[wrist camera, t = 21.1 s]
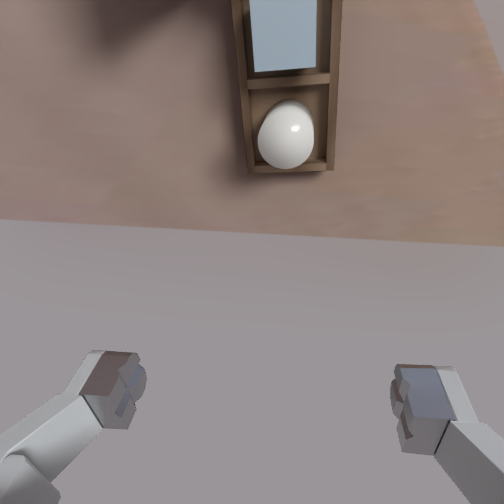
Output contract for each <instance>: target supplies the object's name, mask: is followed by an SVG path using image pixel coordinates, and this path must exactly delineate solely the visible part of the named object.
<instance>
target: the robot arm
mask: <svg viewBox="0 0 504 504" xmlns="http://www.w3.org/2000/svg"><path fill="white" fill-rule="evenodd" d="M139 361H140V358H139V356H138V354H137V353H130V352H114V351H100V350H92V351H91V352H90V353H88V354H87V356H86V358H85V359H84V361H83V362H82V364H81V365H80V367H79V368H78V370H77V372H76V373H75V375H74V376H73V378H72V379H71V381H70V382H69V384H68V385H67V387H66V389H65V390H64V392H63V393H62V394H57V395H56V396H54V397H53V398H52V399H50V400H49V401H47V402H46V403H45V404H43V405H42V406H40V407H39V408H38V409H36V410H35V411H33V412H32V413H30V414H29V415H28V416H26V417H25V418H24V419H22V420H21V421H19V422H18V423H16V424H15V425H14V426H12V427H11V428H9V429H8V430H7V431H5V432H4V433H2V434H1V435H0V504H58V502H59V500H60V498H61V497H60V492H59V491H58V490H57V489H56V488H55V487H54V486H53V485H52V484H51V482H52V481H53V480H54V479H55V478H56V477H57V475H59V474H60V473H61V472H62V471H63V470H64V469H65V468H66V467H67V466H68V465H69V464H70V462H72V461H73V459H75V458H76V457H77V456H78V454H80V452H81V451H82V450H83V449H84V448H85V447H86V446H87V445H88V444H89V443H90V442H91V441H92V440H93V439H94V438H95V437H96V436H97V435H98V434H99V433H100V432H101V431H102V430H103V428H110V429H111V428H112V429H128V427H129V425H130V423H131V421H132V418H133V416H134V414H135V411H136V407H135V402H136V401H137V400H138V399H139V398H140V397H141V396H142V394H143V392H144V389H145V386H146V372H145V369H144V368H143V367H142V366H141V365H139V364H138V363H139ZM394 374H395V378H396V379H394V380H393V381H392V382H391V388H390V398H391V405H392V410H393V413H394V415H395V416H396V417H397V418H398V419H399V422H398V425H397V432H398V436H399V441H400V445H401V449H402V452H406V453H415V454H424V455H433V456H434V458H435V459H436V460H437V462H438V463H439V464H440V465H441V466H442V468H443V469H444V470H445V472H446V473H447V474H448V475H449V477H450V478H451V479H452V480H453V482H454V483H455V484H456V485H457V487H458V488H459V489H460V491H461V492H462V493H463V494H464V496H465V497H466V498H467V500H468V501H469V502H470V503H471V504H504V440H503V439H502V438H501V437H500V436H499V435H498V434H497V433H495V431H493V430H492V429H491V428H490V427H489V426H488V425H486V423H481V422H478V419H477V417H476V415H475V413H474V410H473V408H472V406H471V403H470V401H469V399H468V396H467V394H466V392H465V390H464V387H463V385H462V383H461V381H460V378H459V376H458V374H457V372H456V370H455V369H454V368H453V367H451V366H450V367H449V366H432V365H407V364H397V365H396V366H395V370H394Z"/></svg>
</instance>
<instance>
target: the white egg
mask: <svg viewBox="0 0 504 504" xmlns="http://www.w3.org/2000/svg"><path fill="white" fill-rule="evenodd" d="M313 144H314V124H313V116H312V113H311V111H310V109H309V108H308V107H307V105H306V104H304V103H303V102H301V101H299V100H297V99H291V98H288V99H283V100H280V101H278V102H277V103H275V104H274V105H273V106H272V107H271V108H270V110H269V111H268V113H267V115H266V117H265V120H264V122H263V124H262V126H261V129H260V131H259V134H258V148H259V151H260V153H261V155H262V157H263V158H264V159H265V161H266V162H268V163H269V164H270V165H272V166H274V167H276V168H280V169H291V168H294V167H297V166H299V165H301V164H302V163H303V162H304V161H306V159H307V158H308V157H309V155H310V154H311V152H312V149H313Z"/></svg>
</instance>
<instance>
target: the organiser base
mask: <svg viewBox="0 0 504 504" xmlns="http://www.w3.org/2000/svg"><path fill="white" fill-rule="evenodd" d="M231 6H232V17H233V27H234V37H235V47H236V57H237V67H238V77H239V87H240V98H241V108H242V118H243V128H244V138H245V148H246V158H247V168H248V173H274V172H301V171H327V170H334V157H335V138H336V118H337V98H338V78H339V59H340V39H341V19H342V0H317V12H316V67H310V68H298V69H286V70H274V71H262V72H255V68H254V55H253V41H252V28H251V14H250V1H249V0H231ZM288 98H291V99H297V100H299V101H301V102H303V103H304V104H306V105H307V107H308V108H309V109H310V111H311V113H312V116H313V124H314V144H313V149H312V152H311V154H310V155H309V157H308V158H307V159H306V161H304V162H303V163H302V164H301V165H299V166H297V167H294V168H291V169H280V168H276V167H274V166H272V165H270V164H269V163H268V162H266V161H265V159H264V158H263V157H262V155H261V153H260V151H259V148H258V134H259V131H260V129H261V126H262V124H263V122H264V120H265V117H266V115H267V113H268V111H269V110H270V108H271V107H272V106H273V105H274V104H275V103H277V102H278V101H280V100H283V99H288Z"/></svg>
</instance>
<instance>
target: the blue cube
mask: <svg viewBox="0 0 504 504" xmlns="http://www.w3.org/2000/svg"><path fill="white" fill-rule="evenodd" d="M249 1H250V14H251V28H252V41H253V55H254V68H255V72H262V71H274V70H286V69H298V68H310V67H316V12H317V0H249Z"/></svg>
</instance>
